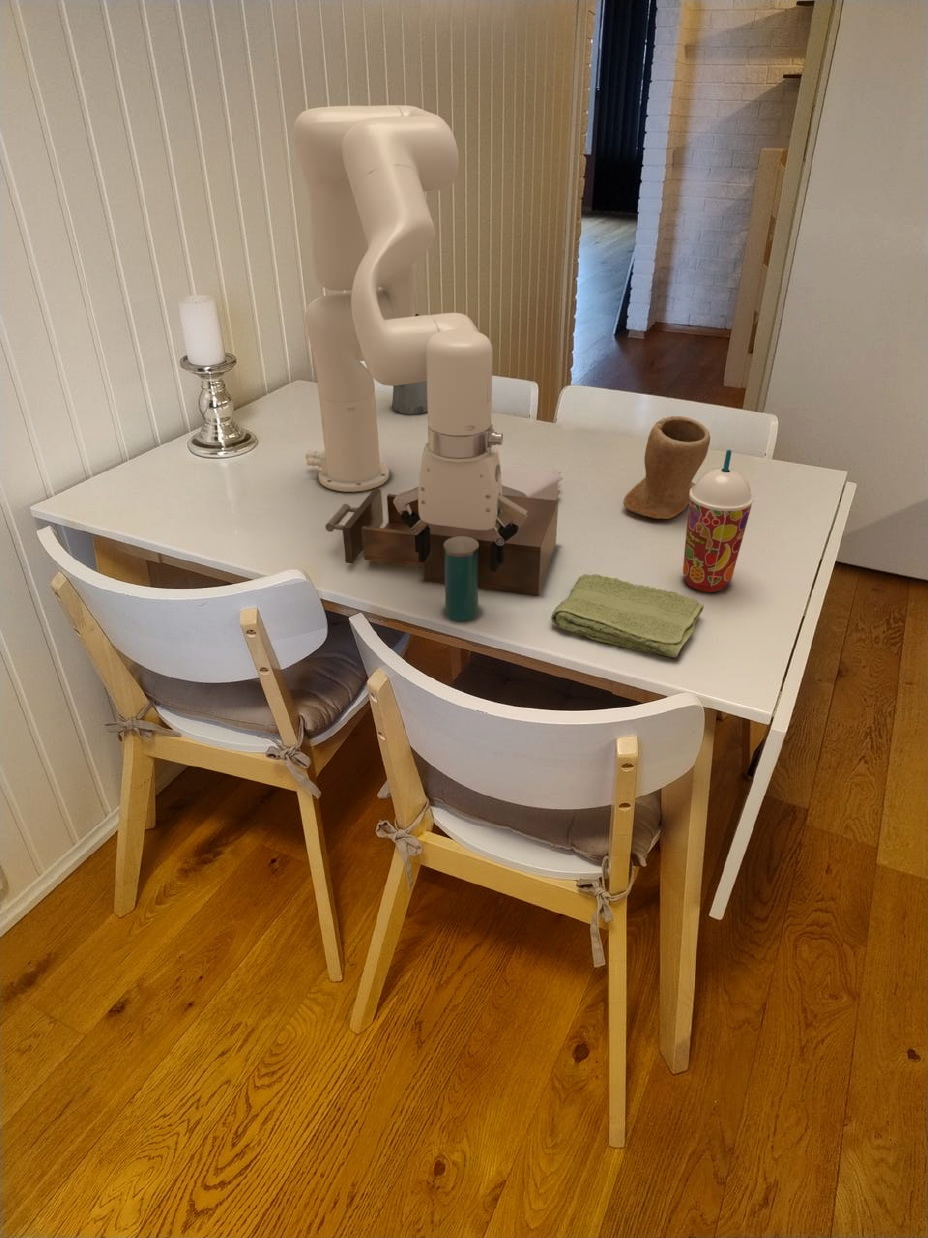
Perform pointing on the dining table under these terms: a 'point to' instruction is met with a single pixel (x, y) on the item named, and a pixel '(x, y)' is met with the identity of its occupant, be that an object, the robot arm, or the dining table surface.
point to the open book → (530, 482)
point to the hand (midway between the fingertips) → (459, 561)
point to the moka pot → (410, 397)
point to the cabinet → (522, 551)
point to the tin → (461, 578)
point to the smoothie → (715, 527)
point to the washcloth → (628, 615)
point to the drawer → (377, 532)
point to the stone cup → (669, 467)
